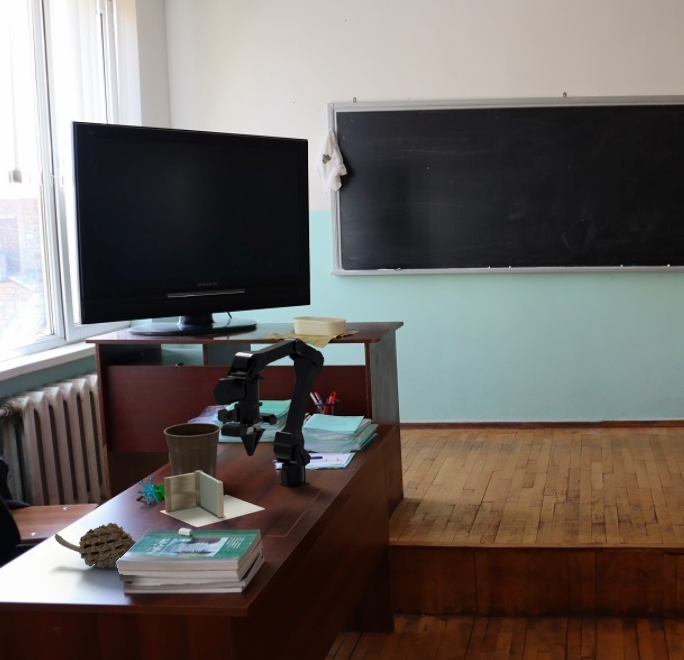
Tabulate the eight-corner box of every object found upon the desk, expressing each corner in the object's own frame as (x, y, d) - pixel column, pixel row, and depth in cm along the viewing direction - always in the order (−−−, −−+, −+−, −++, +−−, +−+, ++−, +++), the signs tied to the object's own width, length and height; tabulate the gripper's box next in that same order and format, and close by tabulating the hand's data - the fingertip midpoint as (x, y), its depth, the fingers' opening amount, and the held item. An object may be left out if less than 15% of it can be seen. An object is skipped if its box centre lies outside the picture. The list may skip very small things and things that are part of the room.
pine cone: (147, 562, 217) (145, 519, 216) (124, 578, 208) (122, 533, 207) (63, 553, 224) (61, 511, 223) (37, 567, 215) (35, 524, 214)
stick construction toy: (147, 501, 256) (139, 476, 259) (130, 513, 259) (122, 487, 262) (176, 502, 266) (168, 478, 269) (159, 513, 268) (151, 489, 271)
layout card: (226, 496, 267) (226, 494, 267) (265, 510, 253) (265, 508, 253) (159, 512, 253) (159, 511, 253) (197, 528, 239) (197, 527, 239)
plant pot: (207, 493, 269) (204, 436, 267) (155, 489, 275) (153, 433, 273) (232, 478, 285) (230, 424, 283) (183, 474, 290) (180, 421, 288)
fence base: (201, 503, 259) (200, 470, 258) (205, 505, 257) (203, 471, 256) (164, 510, 253) (163, 476, 252) (167, 512, 251) (166, 478, 250)
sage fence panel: (199, 505, 256) (198, 472, 255) (204, 504, 257) (202, 471, 256) (219, 517, 246) (218, 483, 245) (224, 516, 246) (222, 482, 245)
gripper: (243, 391, 272) (245, 445, 274) (203, 402, 256) (205, 460, 258) (277, 393, 267) (278, 449, 269) (238, 406, 251) (240, 465, 253)
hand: (250, 455), depth 262 cm, fingers closed
